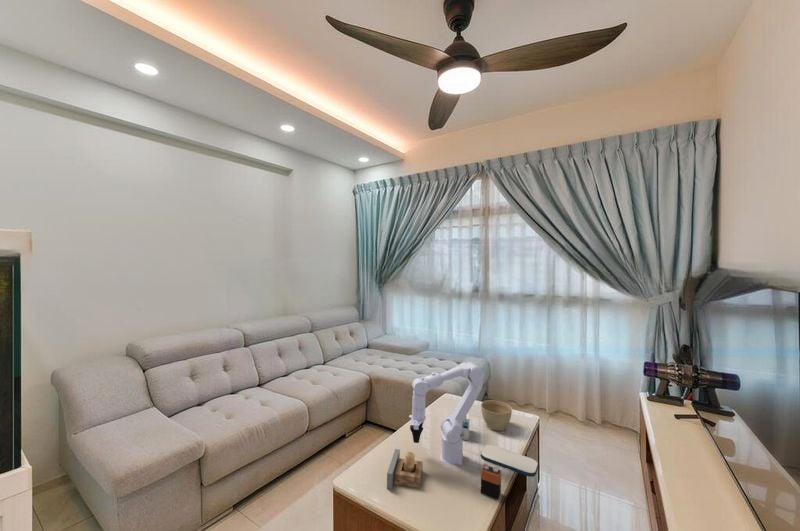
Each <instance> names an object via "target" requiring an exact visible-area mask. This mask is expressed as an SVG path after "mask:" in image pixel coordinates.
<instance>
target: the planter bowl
mask: <svg viewBox="0 0 800 531" xmlns="http://www.w3.org/2000/svg"><path fill="white" fill-rule="evenodd" d="M480 407H481V415H482V418H483V420H484V421H485V423H486V426H487V428H489V429H490V430H491V431H492V430H493V431H497V432H499V431H500V432H502V431H504V430H505V429H506V427H507V426H508V425H509V423H510V421H511V418H512V412H513V408H512V406H510V405H509V404H508V403H506V402H504V401H500V400H499V401H498V400H485V401H482V402H481V404H480Z"/></svg>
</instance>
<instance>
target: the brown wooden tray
mask: <svg viewBox="0 0 800 531" xmlns="http://www.w3.org/2000/svg"><path fill="white" fill-rule="evenodd" d="M404 459H405V458H401V457H400V458H399V460H398V464H397V467H396V470H395V474H394V484H393V485H397V486H404V487H409V488H417V489H420V486H421V482H422V481H421V480H422V474H423V465H424V463H423V461H421V460H415V459H414V473H410V472H404Z"/></svg>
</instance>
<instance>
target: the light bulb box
mask: <svg viewBox="0 0 800 531" xmlns="http://www.w3.org/2000/svg"><path fill="white" fill-rule="evenodd" d="M470 420H471V419H470V411H469V412H468V414H467V415H466V417H465V419H464V421H463V422H462V432H461V435H460V439H461V440H465V441H470Z"/></svg>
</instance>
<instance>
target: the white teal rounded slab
mask: <svg viewBox="0 0 800 531" xmlns="http://www.w3.org/2000/svg"><path fill="white" fill-rule="evenodd" d="M480 458H481V459H482V460H484V461H485V462H487V463H490V464H493V465H495V466H498V465H499V466H498V467H501V466H502V467H501V468H504V469H506V468H508V469H507V470H509V469H510V470H509V471H512V472H515V473H518V474H519V475H523V476H525V477H531V478H533V477H535V476H536V474H537V472H538V468H539V462H538V461H537V460H535V459H533V458H532V457H528V456H526V455H523V454H520V453H517V452H513V451H511V450H507V449H505V448H502V447H499V446H497V445H496V446H495V445H492V444H486V445H485V446H484V447H483V448H482V450H481V451H480Z"/></svg>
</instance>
